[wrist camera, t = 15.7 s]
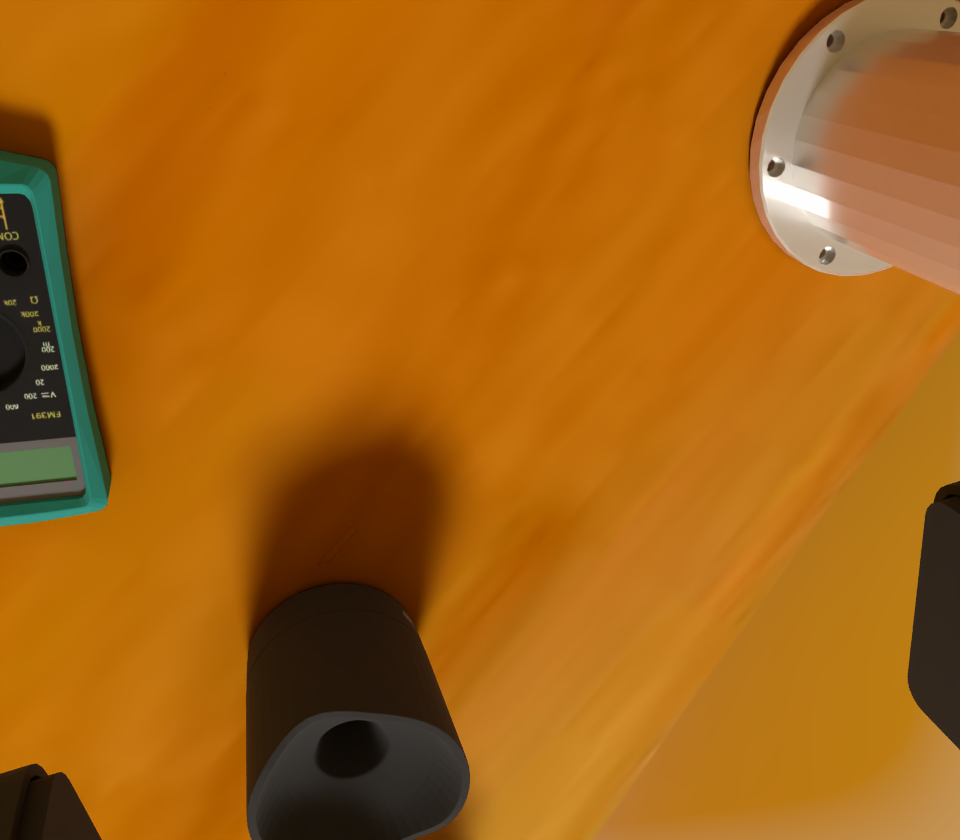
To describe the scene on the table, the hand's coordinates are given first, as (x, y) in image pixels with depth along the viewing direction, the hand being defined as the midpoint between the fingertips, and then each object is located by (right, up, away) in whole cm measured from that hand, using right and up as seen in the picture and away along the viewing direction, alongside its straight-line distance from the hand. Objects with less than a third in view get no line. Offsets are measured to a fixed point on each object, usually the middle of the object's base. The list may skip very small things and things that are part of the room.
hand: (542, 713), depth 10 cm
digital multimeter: (-20, +6, +27) cm, 34 cm away
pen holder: (-8, -9, +37) cm, 39 cm away
